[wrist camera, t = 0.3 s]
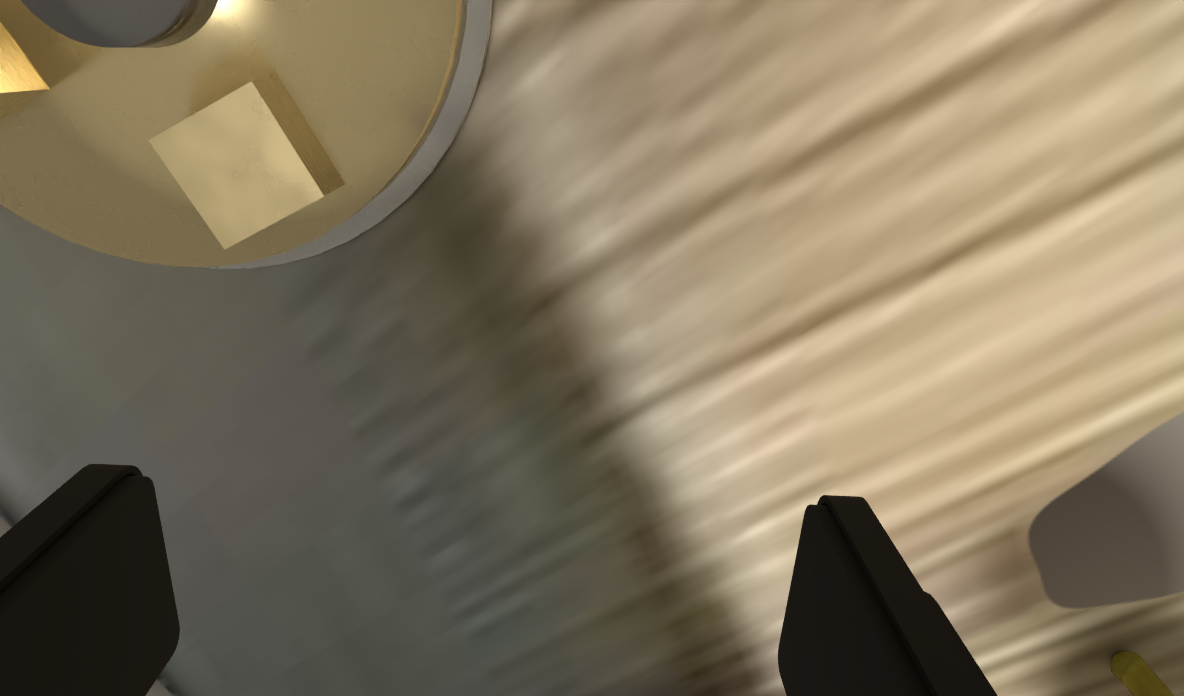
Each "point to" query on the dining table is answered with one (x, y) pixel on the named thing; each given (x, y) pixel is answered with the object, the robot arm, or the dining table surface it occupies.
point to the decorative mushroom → (1137, 675)
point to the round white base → (426, 156)
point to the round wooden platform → (214, 117)
